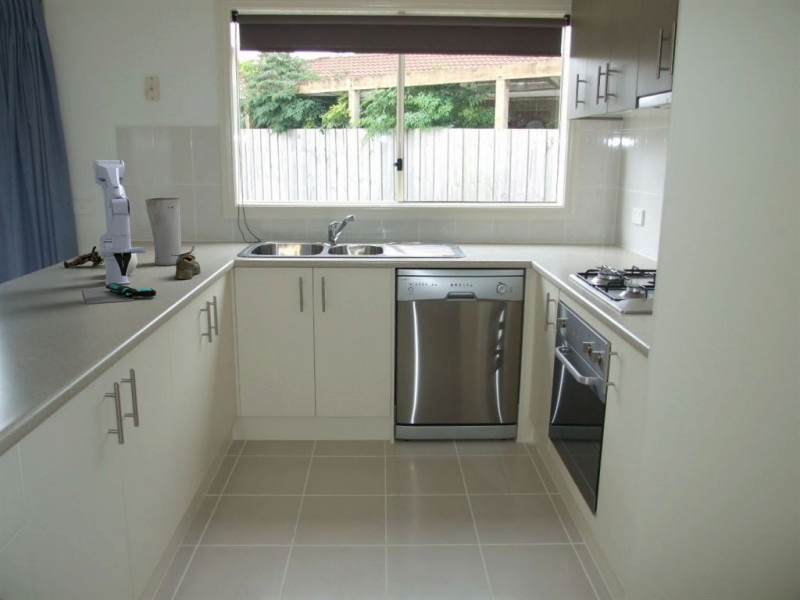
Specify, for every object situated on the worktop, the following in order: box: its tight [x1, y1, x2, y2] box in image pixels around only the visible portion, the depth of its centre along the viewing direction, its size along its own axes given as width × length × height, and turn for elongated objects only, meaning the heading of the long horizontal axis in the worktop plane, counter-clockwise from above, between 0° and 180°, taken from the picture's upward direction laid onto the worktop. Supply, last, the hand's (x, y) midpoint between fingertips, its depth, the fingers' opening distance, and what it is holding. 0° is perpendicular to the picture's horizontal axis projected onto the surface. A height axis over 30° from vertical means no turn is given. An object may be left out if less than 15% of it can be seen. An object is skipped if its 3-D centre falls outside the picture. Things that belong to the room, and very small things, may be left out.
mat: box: [82, 287, 135, 305], centre depth 224 cm, size 24×14×1 cm, turn 27°
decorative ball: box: [103, 253, 138, 276], centre depth 259 cm, size 12×12×12 cm
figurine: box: [63, 245, 104, 269], centre depth 277 cm, size 10×8×18 cm
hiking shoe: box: [174, 245, 201, 280], centre depth 262 cm, size 8×20×12 cm, turn 5°
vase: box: [145, 197, 183, 267], centre depth 286 cm, size 13×14×28 cm
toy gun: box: [104, 283, 157, 299], centre depth 225 cm, size 3×20×10 cm
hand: (123, 275), depth 225 cm, fingers closed
